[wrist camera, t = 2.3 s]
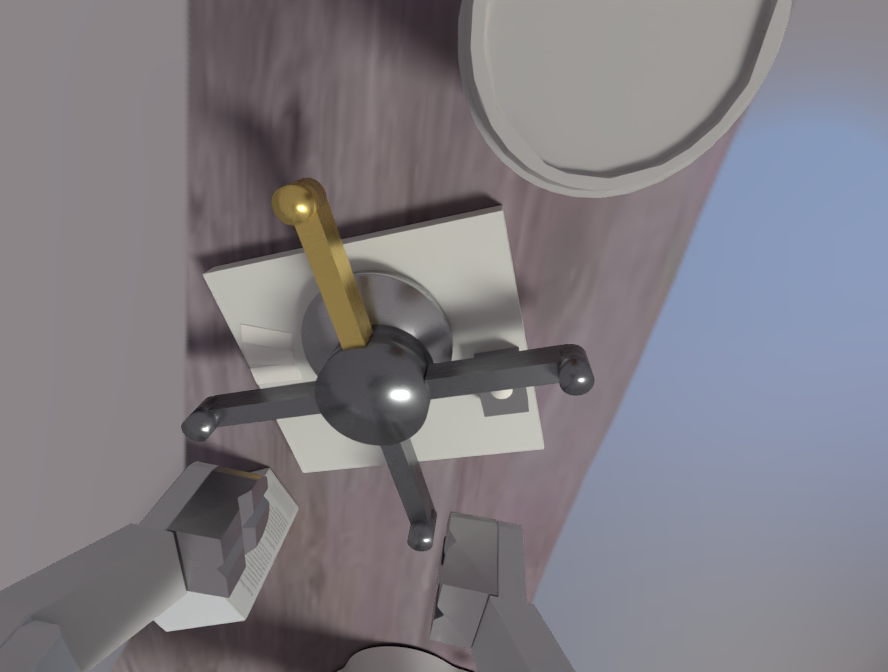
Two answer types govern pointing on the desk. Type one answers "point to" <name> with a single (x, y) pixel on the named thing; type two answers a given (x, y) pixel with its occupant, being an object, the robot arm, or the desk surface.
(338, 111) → the desk surface
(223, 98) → the desk surface
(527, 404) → the stand
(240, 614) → the small box
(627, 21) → the disposable coffee cup
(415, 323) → the capstan
